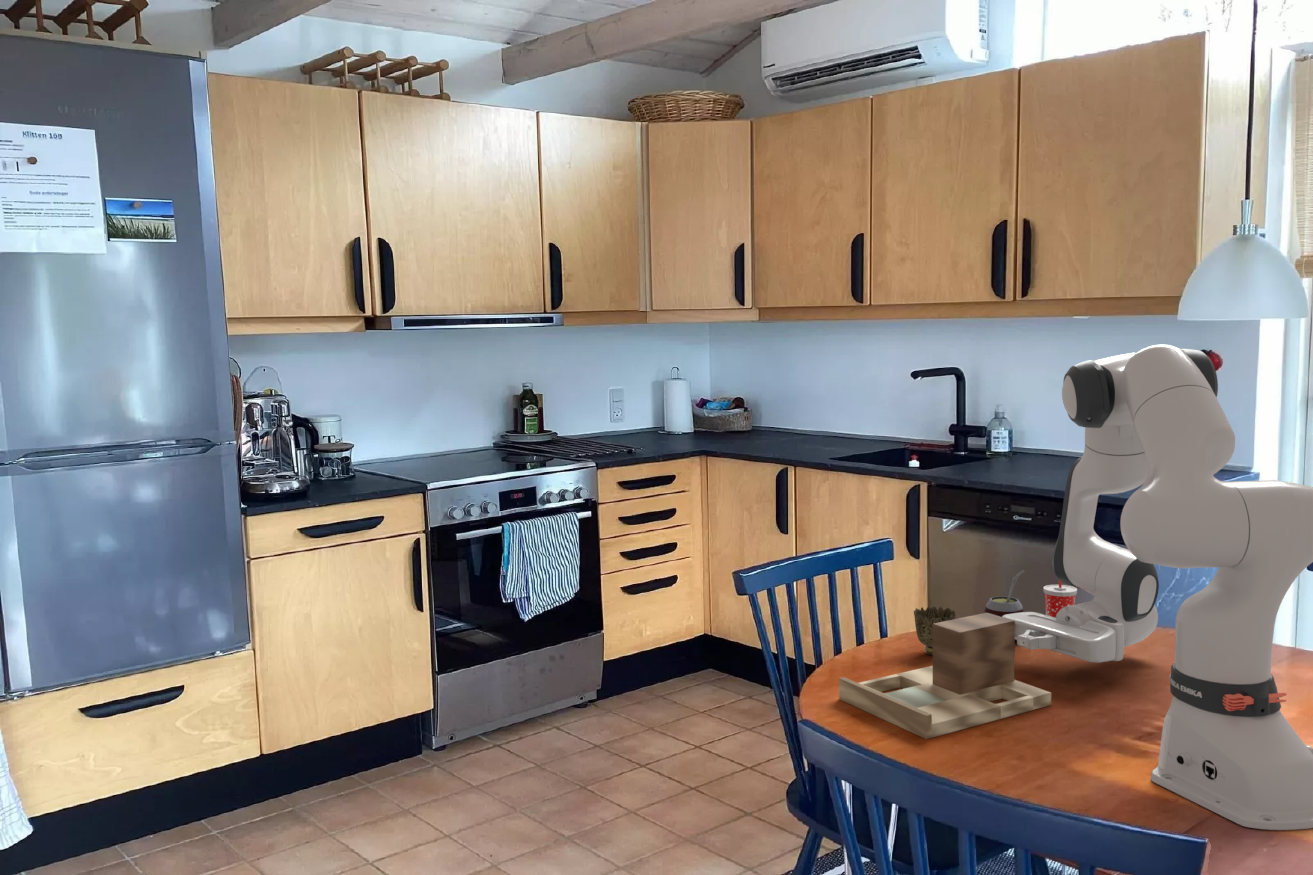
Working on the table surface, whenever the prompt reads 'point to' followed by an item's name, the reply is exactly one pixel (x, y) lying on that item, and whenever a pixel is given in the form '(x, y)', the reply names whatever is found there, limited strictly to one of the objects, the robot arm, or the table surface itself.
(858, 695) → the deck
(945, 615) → the cup
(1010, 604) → the mate gourd
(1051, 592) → the beverage cup
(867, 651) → the table surface
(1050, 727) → the table surface
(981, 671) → the block
